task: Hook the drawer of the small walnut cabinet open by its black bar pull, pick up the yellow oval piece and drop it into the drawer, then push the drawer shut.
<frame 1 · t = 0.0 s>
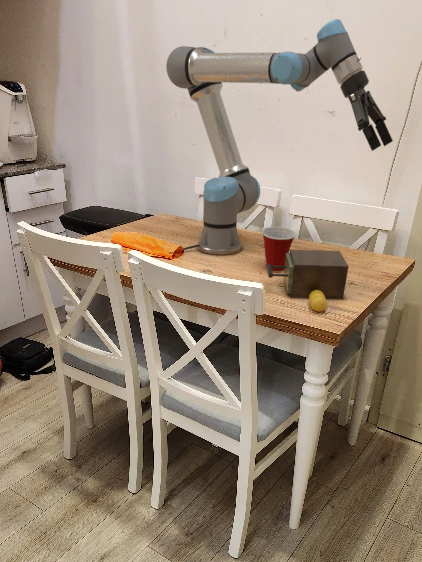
hand: (382, 146, 144), 36 cm above the table, tool tilted 35°, fingers open, 13 cm apart
plastic cup: (275, 268, 158), on the table
drawer: (300, 273, 140), point 5 cm above the table, slide at 0.0 cm
cabinet: (313, 289, 142), on the table
yellow oval piece: (316, 307, 131), on the table
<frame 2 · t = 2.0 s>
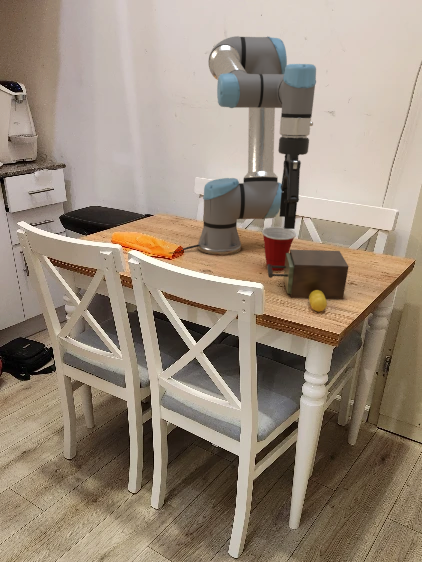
hand: (286, 222, 133), 19 cm above the table, tool pointing down, fingers open, 13 cm apart
nothing on the table moved.
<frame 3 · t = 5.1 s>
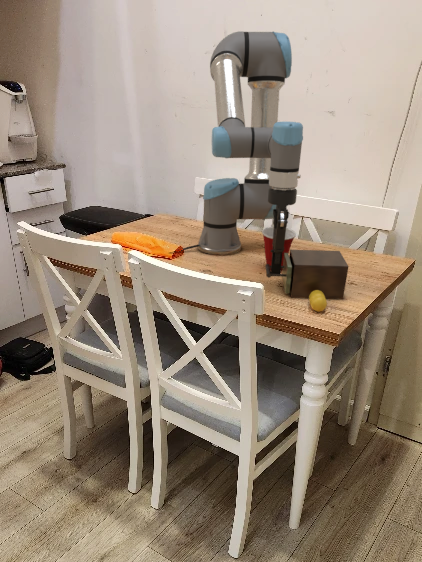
hand: (275, 273, 140), 5 cm above the table, tool pointing down, fingers closed
drawer: (298, 273, 140), point 5 cm above the table, slide at 0.5 cm, touching gripper
everything else where it was.
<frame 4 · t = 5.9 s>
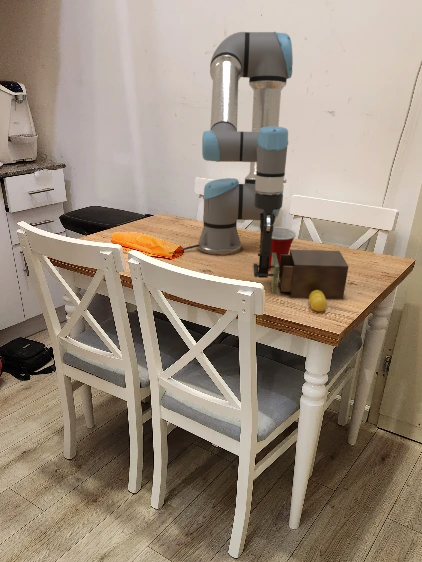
hand: (262, 276, 141), 3 cm above the table, tool pointing down, fingers closed
drawer: (286, 272, 140), point 5 cm above the table, slide at 4.1 cm, touching gripper
everything else where it was.
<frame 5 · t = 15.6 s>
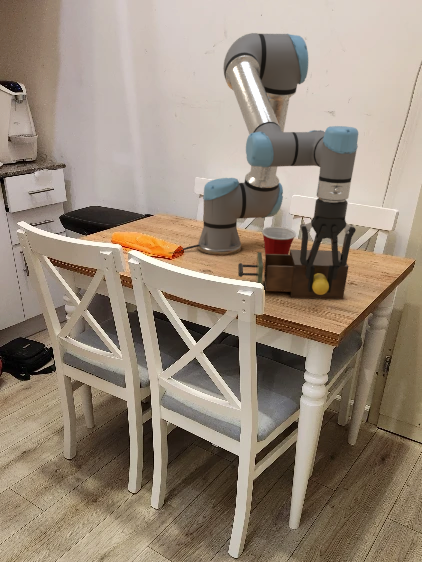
hand: (318, 290, 128), 5 cm above the table, tool pointing down, fingers closed on yellow oval piece, 4 cm apart
drawer: (270, 272, 140), point 5 cm above the table, slide at 8.5 cm
yellow oval piece: (318, 291, 129), point 5 cm above the table, touching gripper
everything else where it was.
when the fingers open (6 cm above the table, at t = 20.5 s): yellow oval piece drops 3 cm, resting on drawer.
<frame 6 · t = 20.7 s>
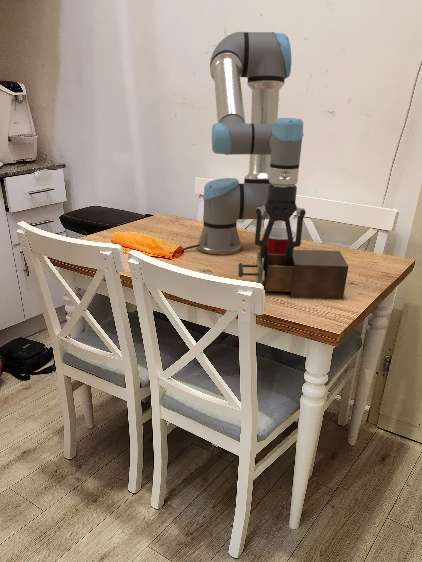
hand: (275, 269, 140), 6 cm above the table, tool pointing down, fingers open, 5 cm apart
drawer: (270, 272, 140), point 5 cm above the table, slide at 8.5 cm, touching yellow oval piece
yellow oval piece: (274, 281, 142), point 2 cm above the table, touching drawer
everything else where it was.
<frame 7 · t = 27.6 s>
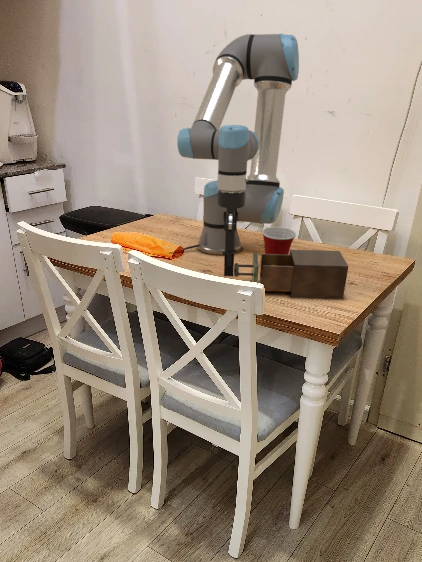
hand: (228, 275, 141), 4 cm above the table, tool pointing down, fingers closed
drawer: (266, 272, 140), point 5 cm above the table, slide at 9.7 cm, touching yellow oval piece, gripper
yellow oval piece: (270, 281, 142), point 2 cm above the table, tilted 18°, touching drawer
everything else where it was.
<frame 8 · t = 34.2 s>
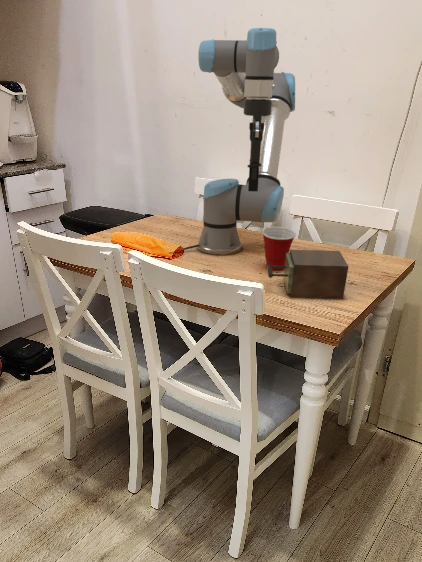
hand: (252, 190, 142), 24 cm above the table, tool pointing down, fingers closed
drawer: (300, 273, 140), point 5 cm above the table, slide at 0.0 cm, touching yellow oval piece, cabinet
yellow oval piece: (312, 272, 140), point 5 cm above the table, tilted 115°, touching drawer
everything else where it was.
at the end: drawer pulled out 10.1 cm at the most during the clip, back to where it started at the end; yellow oval piece inside the target area in the cabinet (0.9 cm from its centre), point 4.9 cm above the cabinet's base; drawer slide at 0.0 cm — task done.
